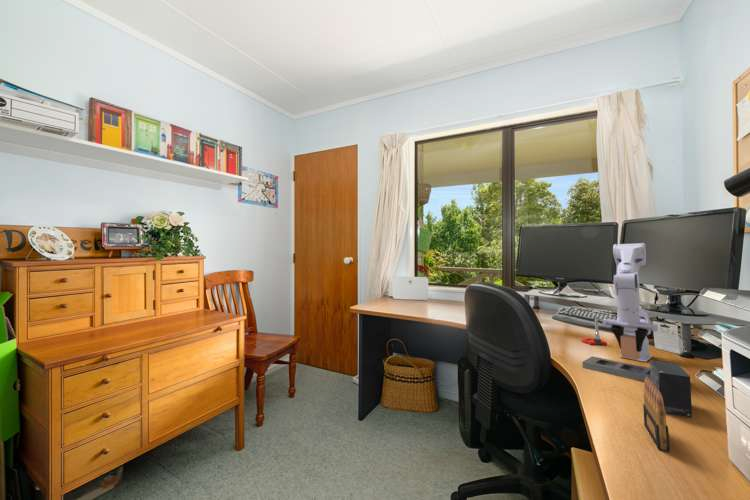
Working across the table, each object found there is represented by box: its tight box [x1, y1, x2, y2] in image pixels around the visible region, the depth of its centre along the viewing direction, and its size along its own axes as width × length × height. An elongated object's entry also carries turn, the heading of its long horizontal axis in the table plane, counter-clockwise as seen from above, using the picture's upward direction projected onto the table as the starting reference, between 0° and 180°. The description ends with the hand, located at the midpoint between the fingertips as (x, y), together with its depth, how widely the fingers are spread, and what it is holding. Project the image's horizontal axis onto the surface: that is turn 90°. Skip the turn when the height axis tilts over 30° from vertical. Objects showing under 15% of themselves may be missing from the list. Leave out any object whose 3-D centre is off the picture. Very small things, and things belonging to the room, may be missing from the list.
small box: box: [649, 359, 693, 419], centre depth 82 cm, size 11×6×10 cm, turn 148°
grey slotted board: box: [581, 356, 651, 383], centre depth 104 cm, size 9×26×2 cm, turn 37°
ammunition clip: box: [642, 376, 671, 453], centre depth 69 cm, size 11×2×12 cm, turn 151°
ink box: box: [652, 320, 685, 355], centre depth 126 cm, size 3×9×12 cm, turn 13°
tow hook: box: [581, 315, 608, 346], centre depth 142 cm, size 8×13×9 cm
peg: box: [620, 334, 640, 361], centre depth 104 cm, size 4×4×7 cm
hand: (630, 349), depth 104 cm, fingers closed on peg, 4 cm apart
